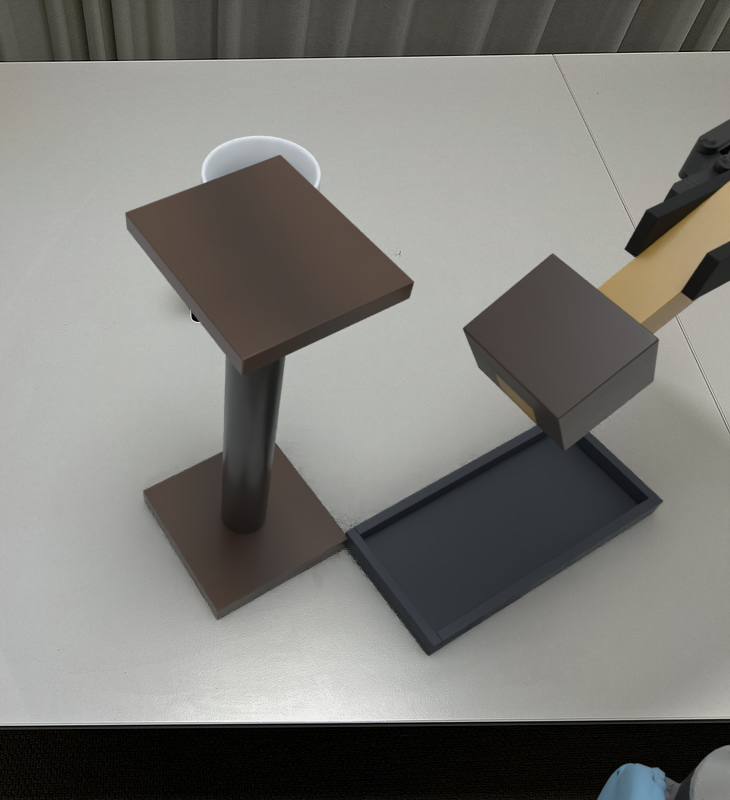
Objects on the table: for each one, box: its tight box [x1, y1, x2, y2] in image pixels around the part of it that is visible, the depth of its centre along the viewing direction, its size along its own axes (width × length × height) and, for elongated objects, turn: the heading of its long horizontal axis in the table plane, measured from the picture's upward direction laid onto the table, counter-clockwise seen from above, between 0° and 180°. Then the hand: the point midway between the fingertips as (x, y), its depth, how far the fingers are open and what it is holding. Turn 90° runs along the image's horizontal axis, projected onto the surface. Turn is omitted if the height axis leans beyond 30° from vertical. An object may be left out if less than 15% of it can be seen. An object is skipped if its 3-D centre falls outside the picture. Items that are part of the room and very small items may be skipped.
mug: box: [200, 135, 322, 192], centre depth 76 cm, size 15×11×13 cm
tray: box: [344, 424, 664, 657], centre depth 63 cm, size 24×11×2 cm, turn 120°
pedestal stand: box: [124, 155, 415, 620], centre depth 53 cm, size 12×12×30 cm
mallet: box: [462, 181, 730, 451], centre depth 41 cm, size 19×7×6 cm, turn 120°
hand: (670, 255), depth 40 cm, fingers closed on mallet, 3 cm apart
